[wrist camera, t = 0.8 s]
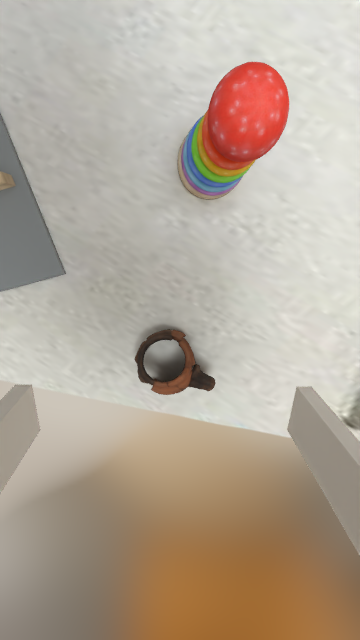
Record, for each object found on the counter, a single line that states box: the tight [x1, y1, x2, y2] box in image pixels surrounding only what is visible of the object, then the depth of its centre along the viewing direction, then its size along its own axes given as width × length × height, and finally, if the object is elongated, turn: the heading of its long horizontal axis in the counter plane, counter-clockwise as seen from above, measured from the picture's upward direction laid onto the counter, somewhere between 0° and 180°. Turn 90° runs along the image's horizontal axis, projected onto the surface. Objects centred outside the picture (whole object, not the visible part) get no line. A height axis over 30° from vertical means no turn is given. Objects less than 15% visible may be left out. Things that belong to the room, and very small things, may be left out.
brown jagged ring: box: [135, 329, 215, 395], centre depth 38 cm, size 12×10×8 cm
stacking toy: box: [178, 62, 289, 199], centre depth 23 cm, size 8×8×19 cm
